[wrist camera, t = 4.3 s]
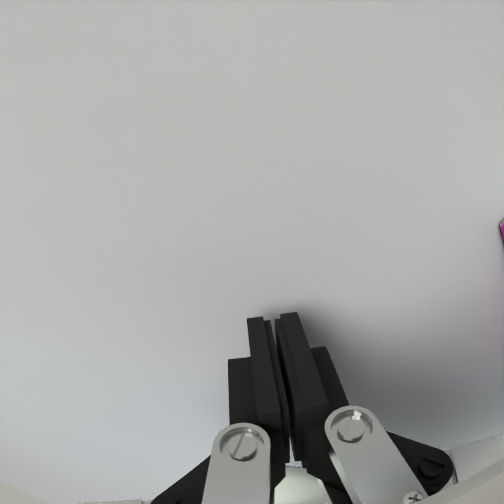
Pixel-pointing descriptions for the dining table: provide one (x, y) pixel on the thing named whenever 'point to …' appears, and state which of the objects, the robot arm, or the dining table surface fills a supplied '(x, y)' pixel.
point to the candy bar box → (502, 227)
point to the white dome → (299, 488)
